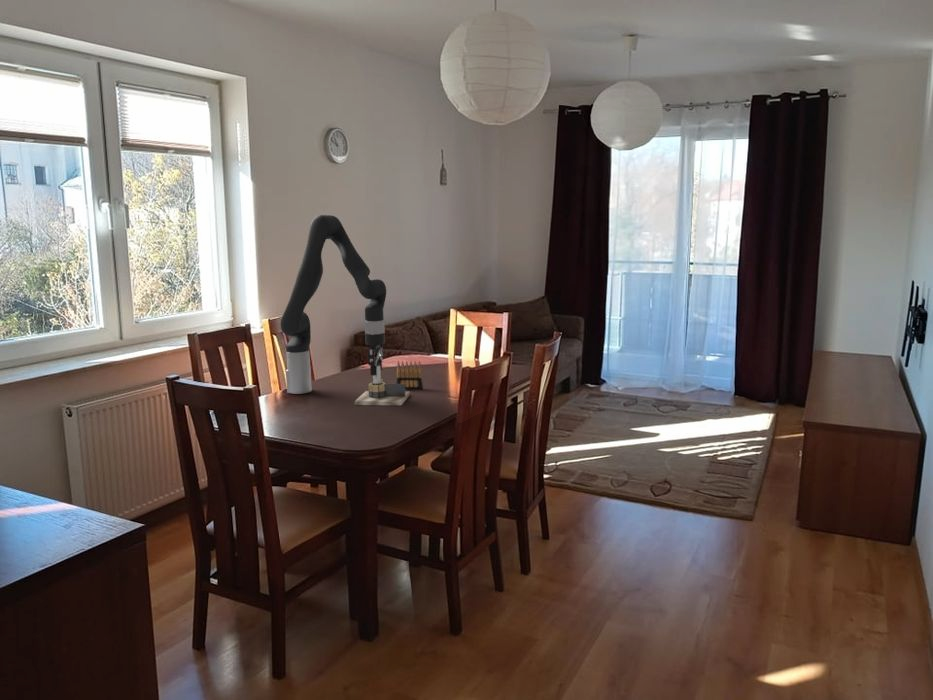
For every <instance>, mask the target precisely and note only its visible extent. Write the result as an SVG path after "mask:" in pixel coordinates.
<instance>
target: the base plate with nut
mask: <svg viewBox="0 0 933 700" xmlns="http://www.w3.org/2000/svg"><path fill="white" fill-rule="evenodd" d="M405 386H406V383H405V384H397V383H387V382H384V379H383V378H381V385H373V381H372V382H370V383H368V390H365V391H364V392H363V393H362V394H361V395H360V396H359V397H357V399H355V401H354V406H402V405H403V404H404V403H405V401H406V400H407V399H408V398H409V397H410V393H411V392H410V390H409V391H408V390H405Z"/></svg>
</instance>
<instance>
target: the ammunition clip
mask: <svg viewBox="0 0 933 700" xmlns="http://www.w3.org/2000/svg"><path fill="white" fill-rule="evenodd" d="M422 374H423V371H422V363H421V361H420V360H418V364H417V362H416V361H414V362H412V360H410V362H409V363H408V361H407V360H406V361H405V363H404V361H403V360H402V361H401V364H400V361H398V360H397V363H396V384H405V391H408V390H409V391H410V390H411V391H415V390H416V391H422V390H424V386H423V385H424V384H423V375H422Z"/></svg>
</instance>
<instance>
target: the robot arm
mask: <svg viewBox="0 0 933 700" xmlns="http://www.w3.org/2000/svg"><path fill="white" fill-rule="evenodd" d="M326 240H330V241H332V242H333V243H334V244H335V245H336V247H337V248H338V250H339V252H340V255H341V259H342V262H343V265H344V267H345V268H346V270H347V271H348V273H349V275H351V276H352V278H353V280H354V282H355V285H356V286H357V287H356V288H357V290H358V292H359V294H360V295H361V296H362V297H364V299H366V300H370V302H369V304H367V305H366V306H365V307H364V319H365V321H364V337H365V338H364V339H365V344H366V345H367V346H370V347H369V348H370V349H367V365H368V366H369V367H370V370H369V371H370V376H373V375H377V370H376V365H379V366H380V371H381V372H382V370H383V359H384V345H385V343H386V332H385V331H386V330H385V329H386V328H385V321H384V306H385V303H386V297H387V287H386V283H385V282H384V281H383V280H381V279H378V278H377V279H370V277H369V276H370V274H371V270H370V268H369V266H368V265H367V263H366V262H365V261H364V259H363V258H362V257H361V256H360V254H359V252H357V249H356V248H355V247H354V245H353V243H352V242H351V239H350V238H349V235H348V234H347V231H346V230H345V227H344V226H343V224H342V222H341V221H340V220H339V218H338V217H336V216H335V215H329V214H328V215H327V214H318V215H316V216H315V217H314V218H313V219H312V221H311V224H310V226H309V230H308V235H307V241H306V247H305V249H304V252H303V256H302V260H301V264H300V266H299V268H298V271H297V275H296V279H295V282H294V284H293V288H292V291H291V294H290V297H289V300H288V303H287V305H286V307H285V310H284V311H283V314H282V316H281V319H280V329H281V331H282V333H283V334H284V335H285V336H288V337H290V339H289V341H288V342H287V343H286V345H285V353H286V368H287V369H286V370H285V378H286V379H285V381H286V392H287V394H293V395H294V394H295V395H300V394H301V395H302V394H303V395H304V394H307V393H311V392H312V391H313V389H312V388H313V387H312V375H311V371H312V370H311V359H310V357H311V356H310V344H311V342H312V340H311V320H310V317H309V315H308V314H307V313H306V312H305V308H306V307H307V304H308V303H309V301H310V300H311V299H312V298H313V296H314V295H315V294H316V292H317V290H318V289H319V286H320V283H321V280H322V277H323V274H324V266H323V259H322V252H323V248H324V246H325V243H326Z"/></svg>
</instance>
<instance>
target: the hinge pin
mask: <svg viewBox="0 0 933 700" xmlns="http://www.w3.org/2000/svg"><path fill="white" fill-rule="evenodd" d="M376 370H377V375H372V382H373V385H381V379H382V375H381V373H382V370H381V371H380V366H379V365H376Z"/></svg>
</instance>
